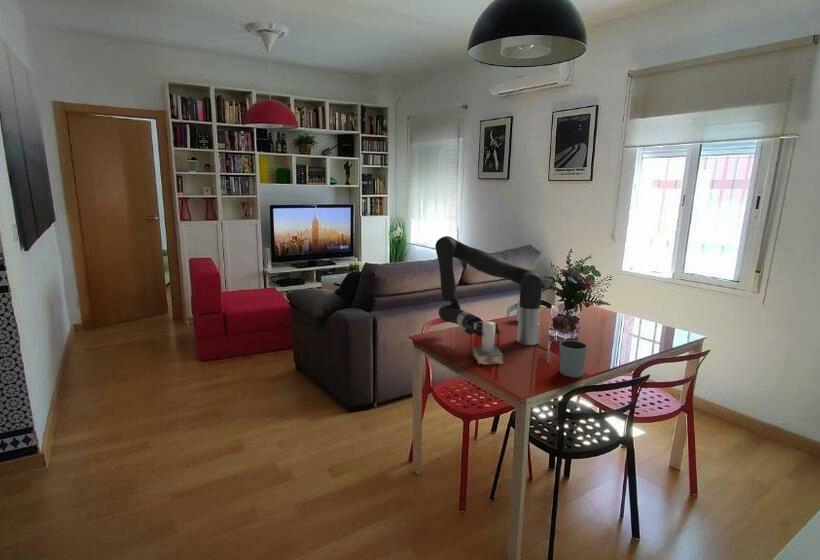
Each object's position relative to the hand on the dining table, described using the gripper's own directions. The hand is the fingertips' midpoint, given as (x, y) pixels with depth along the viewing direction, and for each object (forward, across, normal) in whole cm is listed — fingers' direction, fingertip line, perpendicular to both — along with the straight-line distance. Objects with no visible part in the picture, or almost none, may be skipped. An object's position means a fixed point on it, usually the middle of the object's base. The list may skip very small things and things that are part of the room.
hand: (490, 332), depth 187 cm
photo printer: (-35, +49, +12) cm, 61 cm away
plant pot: (+24, +22, +12) cm, 35 cm away
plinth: (-1, 0, +12) cm, 12 cm away
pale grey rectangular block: (-1, 0, +8) cm, 8 cm away
